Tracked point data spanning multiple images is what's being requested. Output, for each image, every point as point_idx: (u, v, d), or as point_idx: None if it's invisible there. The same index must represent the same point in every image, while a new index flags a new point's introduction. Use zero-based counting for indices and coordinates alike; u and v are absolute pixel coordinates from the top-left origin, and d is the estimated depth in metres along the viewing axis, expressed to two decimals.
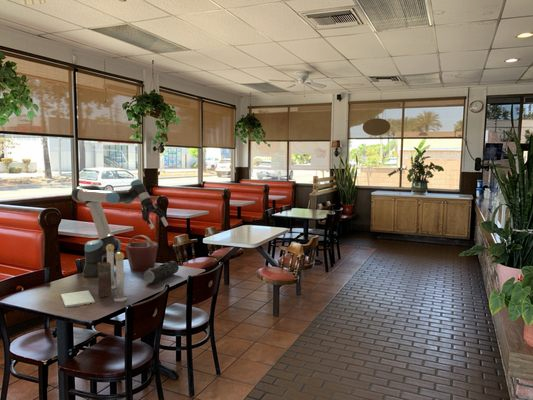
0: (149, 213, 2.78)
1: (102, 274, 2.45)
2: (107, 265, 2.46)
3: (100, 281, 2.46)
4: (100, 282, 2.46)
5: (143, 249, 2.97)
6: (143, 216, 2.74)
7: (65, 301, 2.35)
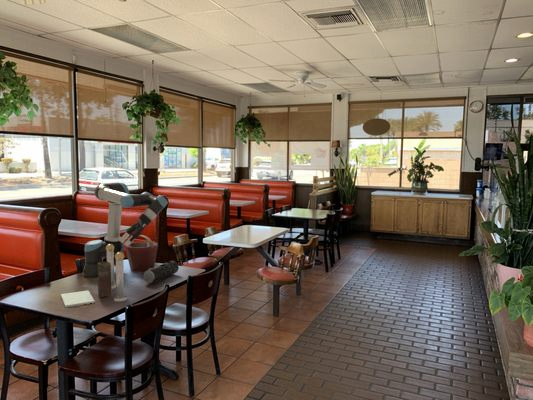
0: None
1: (102, 274, 2.45)
2: (107, 265, 2.46)
3: (100, 281, 2.46)
4: (100, 282, 2.46)
5: (143, 249, 2.97)
6: (138, 233, 2.48)
7: (65, 301, 2.35)
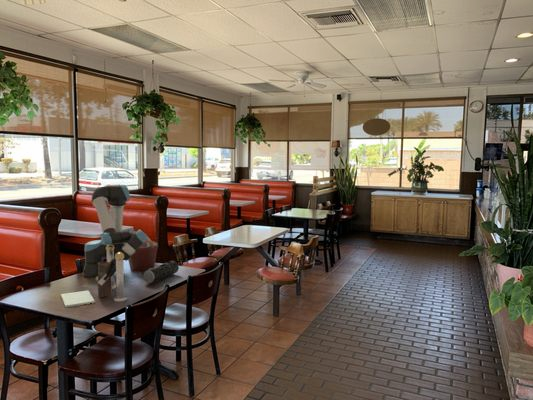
0: None
1: (102, 274, 2.45)
2: (107, 265, 2.46)
3: None
4: None
5: (143, 249, 2.97)
6: (112, 272, 2.44)
7: (65, 301, 2.35)
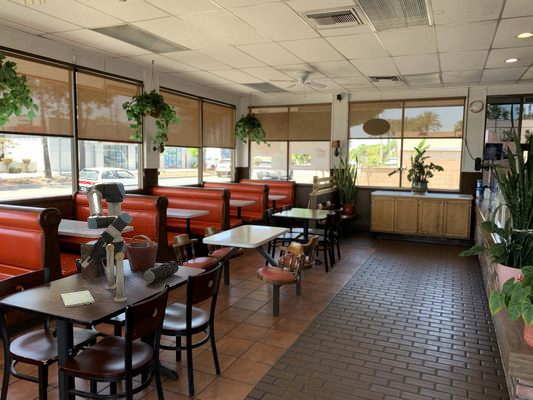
0: None
1: (85, 256, 2.38)
2: (90, 247, 2.39)
3: None
4: None
5: (143, 249, 2.97)
6: (96, 254, 2.38)
7: (65, 301, 2.35)
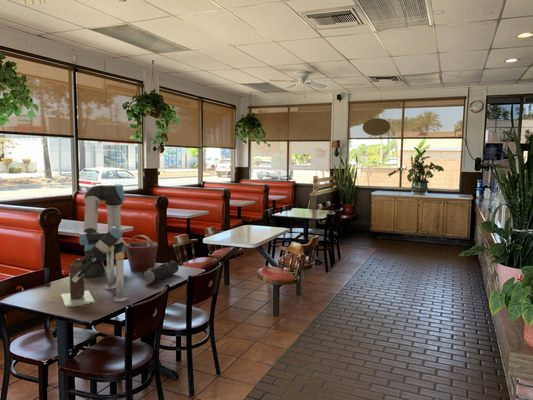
0: None
1: (74, 275, 2.37)
2: (79, 266, 2.38)
3: (72, 283, 2.38)
4: (71, 284, 2.38)
5: (143, 249, 2.97)
6: (86, 269, 2.35)
7: (65, 301, 2.35)
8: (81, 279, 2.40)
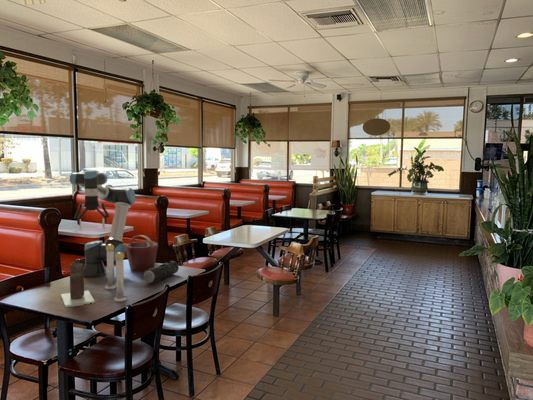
0: (84, 213, 2.59)
1: (74, 275, 2.37)
2: (79, 266, 2.38)
3: (72, 283, 2.38)
4: (71, 284, 2.38)
5: (143, 249, 2.97)
6: (75, 215, 2.57)
7: (65, 301, 2.35)
8: (81, 279, 2.40)
